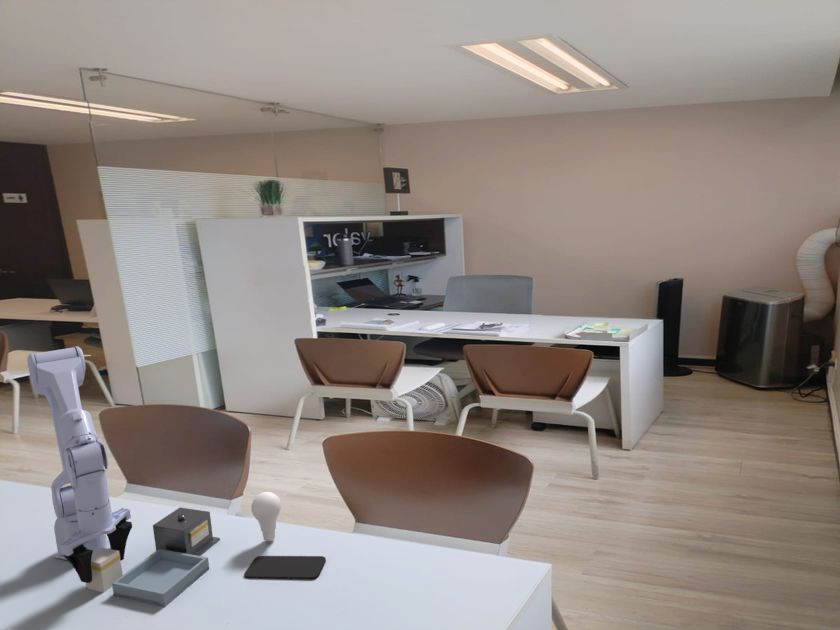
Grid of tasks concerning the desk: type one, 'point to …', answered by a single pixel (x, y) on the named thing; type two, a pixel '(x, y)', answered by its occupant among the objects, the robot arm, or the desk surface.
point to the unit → (185, 532)
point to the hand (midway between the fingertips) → (103, 569)
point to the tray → (161, 577)
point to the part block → (104, 569)
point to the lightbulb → (266, 513)
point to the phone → (286, 567)
